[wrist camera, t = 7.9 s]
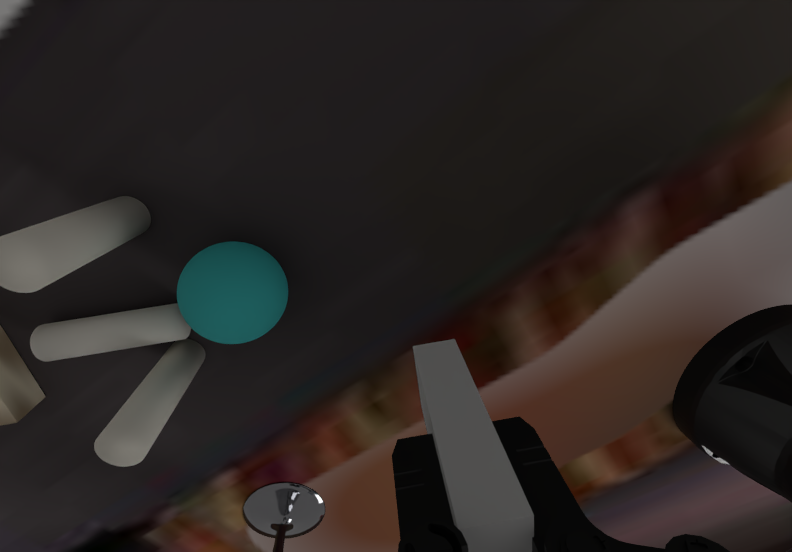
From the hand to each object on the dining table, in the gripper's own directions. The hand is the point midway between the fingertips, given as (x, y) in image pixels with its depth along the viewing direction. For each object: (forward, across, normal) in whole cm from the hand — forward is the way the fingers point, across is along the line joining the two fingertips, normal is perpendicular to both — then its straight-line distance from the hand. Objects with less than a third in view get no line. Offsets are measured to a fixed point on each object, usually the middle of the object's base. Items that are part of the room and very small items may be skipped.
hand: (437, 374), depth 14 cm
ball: (+10, +10, -1) cm, 14 cm away
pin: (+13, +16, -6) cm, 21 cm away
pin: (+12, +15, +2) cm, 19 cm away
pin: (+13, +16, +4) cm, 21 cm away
